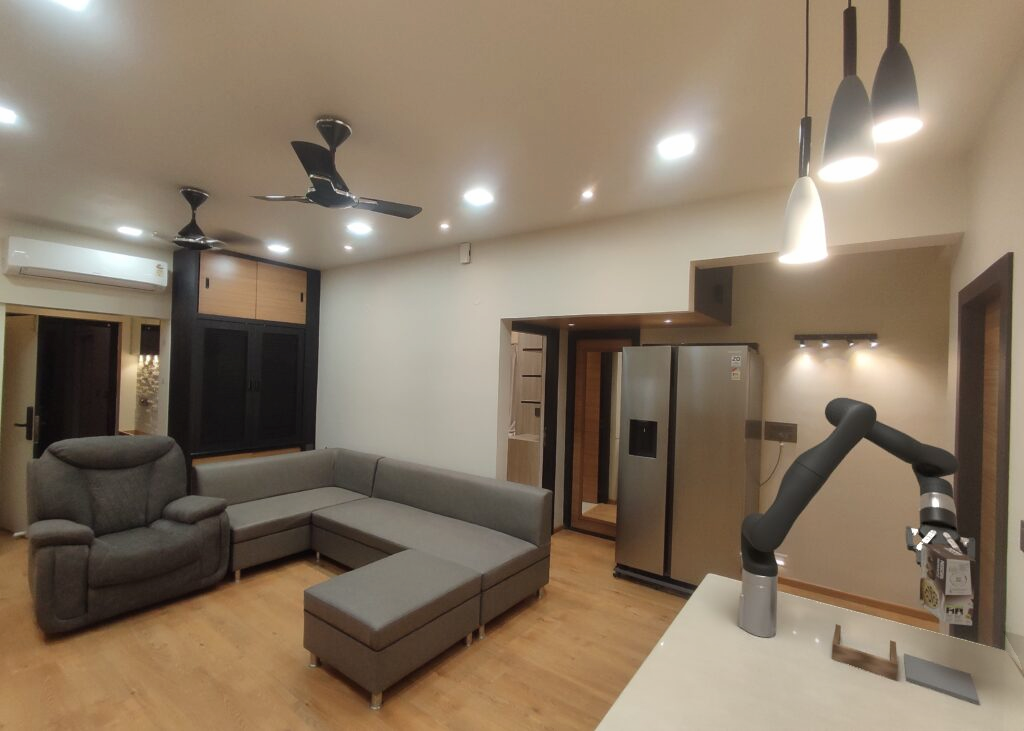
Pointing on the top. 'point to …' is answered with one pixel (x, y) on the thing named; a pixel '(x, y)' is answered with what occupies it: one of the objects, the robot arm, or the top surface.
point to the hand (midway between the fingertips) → (940, 570)
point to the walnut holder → (865, 658)
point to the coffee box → (947, 583)
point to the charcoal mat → (940, 678)
